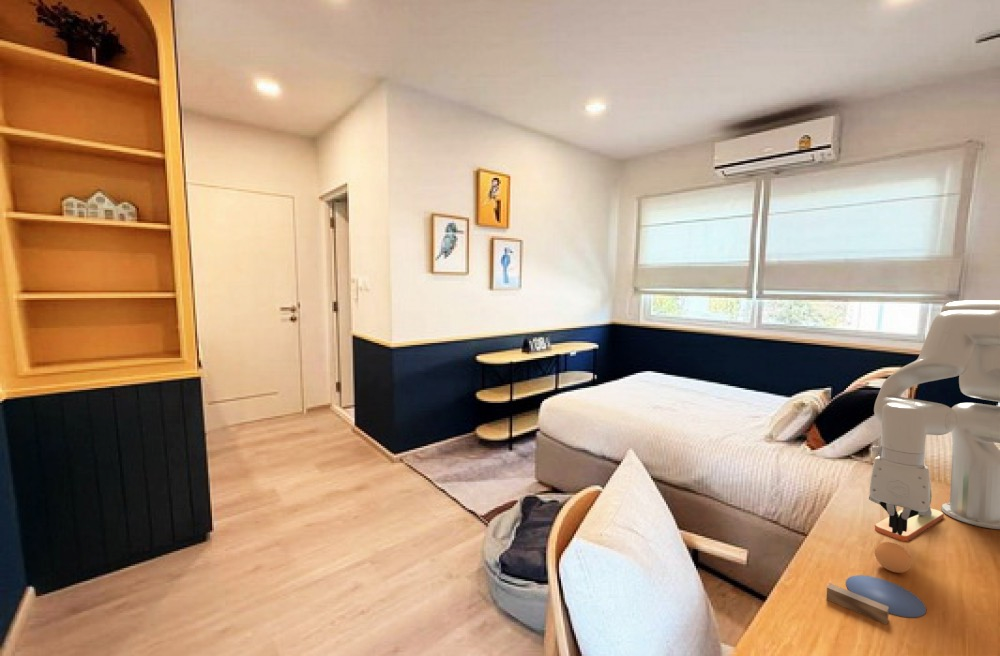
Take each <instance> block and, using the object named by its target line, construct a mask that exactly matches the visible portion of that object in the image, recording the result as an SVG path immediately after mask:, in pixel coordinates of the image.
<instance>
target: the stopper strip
mask: <svg viewBox="0 0 1000 656" xmlns="http://www.w3.org/2000/svg"><path fill="white" fill-rule="evenodd" d="M826 600H828V601H830V602H832V603H835V604H837V605H839V606H841V607H844V608H846V609H848V610H850V611H854V612H856V613H858V614H861V615H862V616H865V617H867V618H870V619H872V620H874V621H877V622H879V623H881V624H883V625H886V626H887V625H888V623H889V622H888V621H889V614H890V613H889V607H888V606H886V605H883V604H881V603H878V602H876V601H873V600H871V599H868V598H866V597H863V596H861V595H858V594H856V593H853V592H851V591H849V589H845V588H843V587H840V586H837V585H835V584H833V583H828V585H827V587H826Z"/></svg>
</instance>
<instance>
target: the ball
mask: <svg viewBox="0 0 1000 656" xmlns="http://www.w3.org/2000/svg"><path fill="white" fill-rule="evenodd" d="M874 557H875V559H876V561H877V562H878V563H879V565H881V567H883V568H884V569H886V570H888V571H889V572H893V573H898V574H900V573H905V572H907V571H909V569H911V567H912V565H913V564H912V563H913V561H912V558H911V555H910V554H909V552H908V551H907V550H906V549H905V548H904V547H902V546H901V545H899V544H897V543H895V542H890V541H884V542H881V543H879V544H878V545H876V547H875V548H874Z"/></svg>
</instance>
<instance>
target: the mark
mask: <svg viewBox="0 0 1000 656" xmlns="http://www.w3.org/2000/svg"><path fill="white" fill-rule="evenodd" d="M845 585H846V588H847V590H848V591H851V592H853V593H856V594H858V595H861V596H863V597H866V598H868V599H871V600H873V601H876V602H878V603H881V604H883V605H886V606H888V607H889V614H890V615H894V616H897V617H902V618H920V617H923V616H924V615H925V614H926V612H927V611H926V610H927V607H926V605H925V604H924V602H923V601H922V600H921V599H920V598H919V597H918V596H917V595H915V594H914V593H913V592H911V591H910V590H908V589H906V588H904V587H902V586H900V585H898V584H895V583H893V582H891V581H888V580H886V579H883V578H878V577H874V576H871V575H862V574H860V575H851V576H849V577H847V579H846V581H845Z"/></svg>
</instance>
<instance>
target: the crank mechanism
mask: <svg viewBox="0 0 1000 656" xmlns="http://www.w3.org/2000/svg"><path fill="white" fill-rule="evenodd" d="M931 503H932V501H931V502H930V505H931ZM895 507H896V509H898V508H897V507H898V506H896V505H895ZM930 508H931V507H930ZM902 511H903V508H902V509H899V510H897V513H898V514H899V515H900V513H902ZM931 512H932V514H931V516H922V515H916V516H913V517H911V518H908V519H907V531H906V532H905V531H903V533H902V535H898V534H897V533H892V528H891V527H889V516H887V517H886V518H884V519H882V520H880V521H879V522H876V523H874V530H875V531H876V532H878V533H880V534H883V535H885V536H888V537H891V538H893V539H895V540H898V539H899V541H903V542H908V540H909V541H910V540H912V539H913V538H916V537H917V536H918V535H920V534H922V532H924V531H926V530H927V528H928V529H929V528H931V527H932V526H934V525H936V524H937V523H939V522H940V521H942V520H943V519H944V517H945V516H944V515H945V513H944V512H943V511H942V510H938V509H934V508H931ZM941 519H942V520H941ZM938 521H939V522H938ZM930 526H931V527H930Z"/></svg>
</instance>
